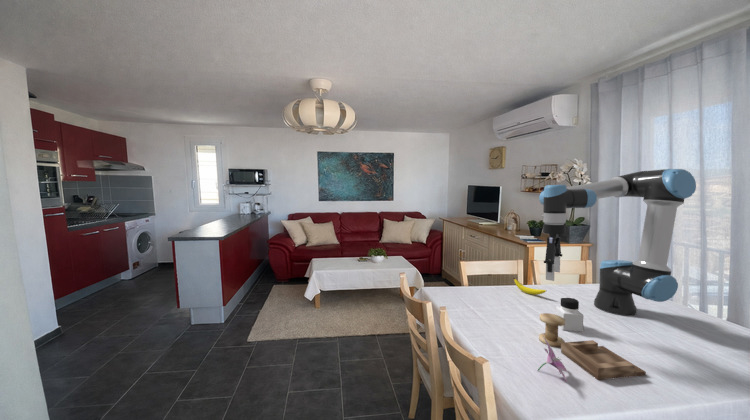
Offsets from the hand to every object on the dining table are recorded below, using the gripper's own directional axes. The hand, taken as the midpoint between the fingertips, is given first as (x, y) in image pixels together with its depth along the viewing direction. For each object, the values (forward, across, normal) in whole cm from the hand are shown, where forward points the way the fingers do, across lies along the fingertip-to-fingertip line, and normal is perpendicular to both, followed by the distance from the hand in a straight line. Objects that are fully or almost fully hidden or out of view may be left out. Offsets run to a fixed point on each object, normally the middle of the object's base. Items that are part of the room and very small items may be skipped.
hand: (553, 275), depth 110 cm
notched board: (+22, +16, +16) cm, 32 cm away
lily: (+22, +32, +5) cm, 40 cm away
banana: (+22, -36, -16) cm, 45 cm away
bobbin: (+22, +11, +2) cm, 25 cm away
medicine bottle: (+22, -6, +5) cm, 24 cm away
